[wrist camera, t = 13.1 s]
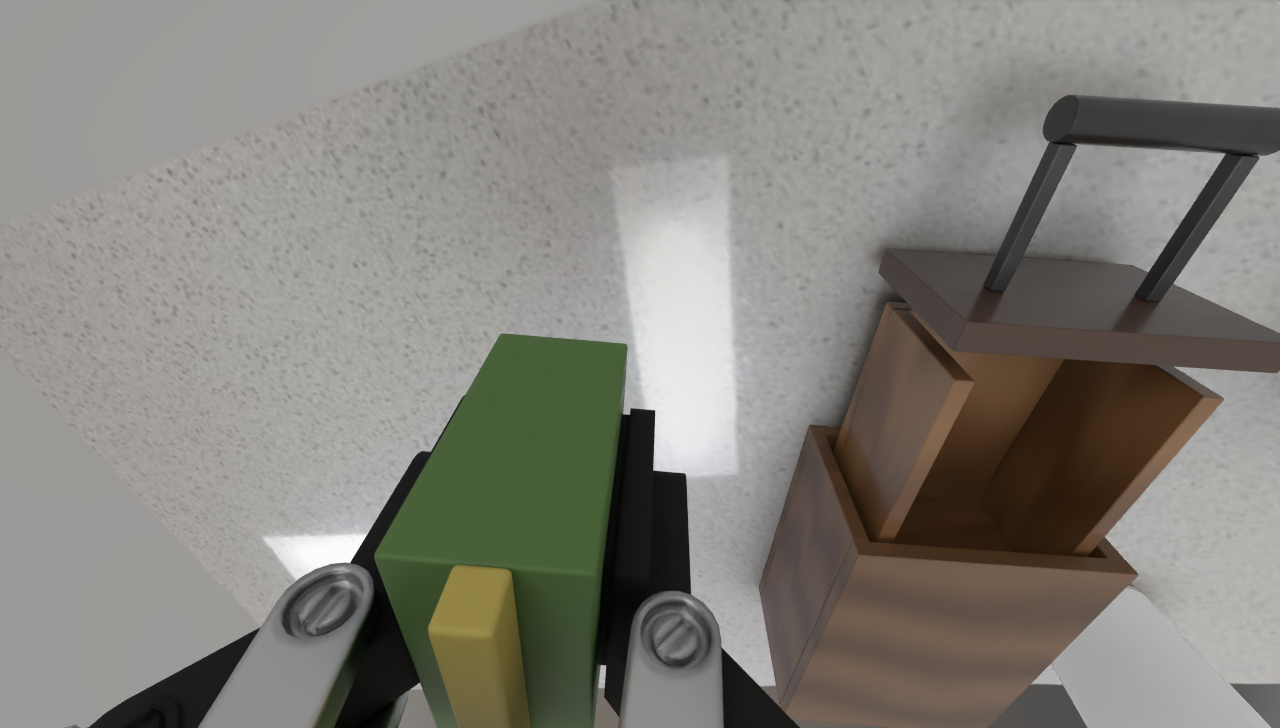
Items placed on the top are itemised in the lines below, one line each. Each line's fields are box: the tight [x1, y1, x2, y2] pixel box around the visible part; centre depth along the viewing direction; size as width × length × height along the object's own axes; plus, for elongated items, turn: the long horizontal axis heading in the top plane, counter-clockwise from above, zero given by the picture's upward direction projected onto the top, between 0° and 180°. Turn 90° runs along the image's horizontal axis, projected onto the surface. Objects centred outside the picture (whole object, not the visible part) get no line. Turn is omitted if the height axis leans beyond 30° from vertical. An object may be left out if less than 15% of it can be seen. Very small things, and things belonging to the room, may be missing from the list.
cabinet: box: [759, 426, 1138, 728], centre depth 30 cm, size 17×13×9 cm
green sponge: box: [374, 334, 627, 728], centre depth 9 cm, size 3×6×6 cm, turn 176°
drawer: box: [833, 95, 1280, 557], centre depth 22 cm, size 22×11×7 cm, turn 177°
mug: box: [1051, 585, 1271, 728], centre depth 35 cm, size 11×9×10 cm
